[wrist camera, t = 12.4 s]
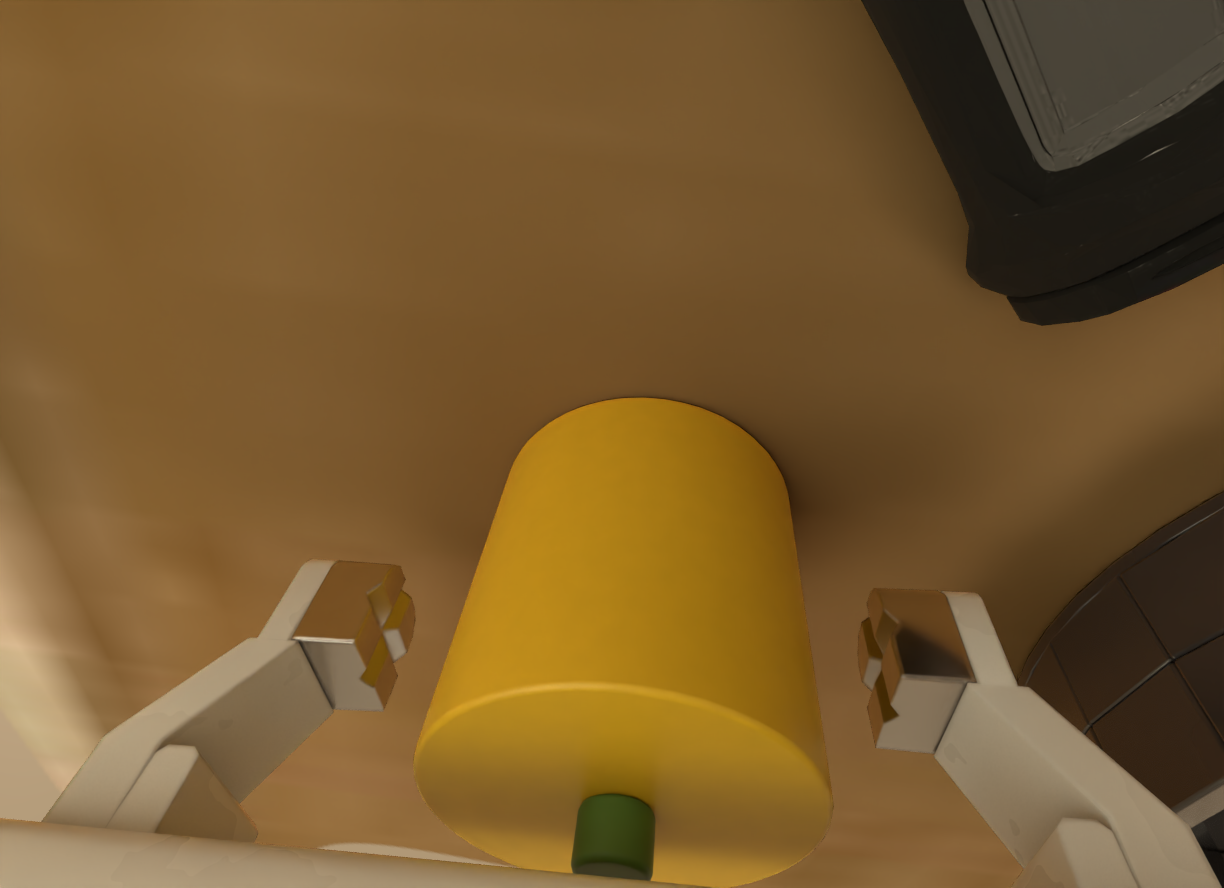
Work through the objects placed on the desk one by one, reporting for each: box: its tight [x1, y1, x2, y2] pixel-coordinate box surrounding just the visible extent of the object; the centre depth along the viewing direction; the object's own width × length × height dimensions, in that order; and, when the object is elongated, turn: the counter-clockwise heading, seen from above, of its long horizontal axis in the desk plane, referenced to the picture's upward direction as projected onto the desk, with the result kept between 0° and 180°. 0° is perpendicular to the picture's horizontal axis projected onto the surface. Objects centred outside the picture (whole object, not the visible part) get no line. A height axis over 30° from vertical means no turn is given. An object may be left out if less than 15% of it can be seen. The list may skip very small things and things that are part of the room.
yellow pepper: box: [413, 397, 834, 888], centre depth 11 cm, size 5×5×6 cm
